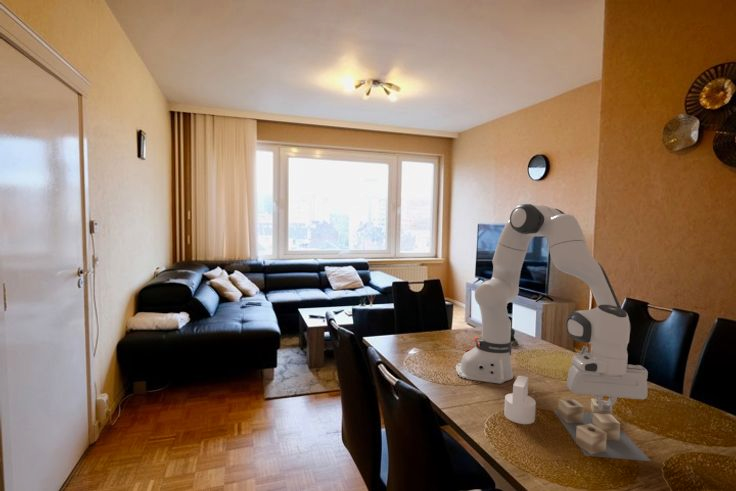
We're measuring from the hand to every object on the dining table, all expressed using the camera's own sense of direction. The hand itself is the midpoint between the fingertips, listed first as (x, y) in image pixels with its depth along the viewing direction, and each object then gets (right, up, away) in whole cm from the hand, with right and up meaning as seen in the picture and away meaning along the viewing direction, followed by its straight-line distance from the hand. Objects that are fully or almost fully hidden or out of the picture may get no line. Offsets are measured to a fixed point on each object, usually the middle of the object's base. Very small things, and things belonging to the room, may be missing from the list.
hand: (604, 409), depth 108 cm
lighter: (+24, -5, +55) cm, 60 cm away
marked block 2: (+5, -7, +9) cm, 13 cm away
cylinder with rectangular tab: (-20, -7, +10) cm, 24 cm away
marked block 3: (-7, -8, -6) cm, 12 cm away
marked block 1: (-5, -7, +9) cm, 12 cm away
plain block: (0, -7, 0) cm, 7 cm away
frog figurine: (+3, -3, +85) cm, 85 cm away
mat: (-1, -8, +2) cm, 8 cm away
